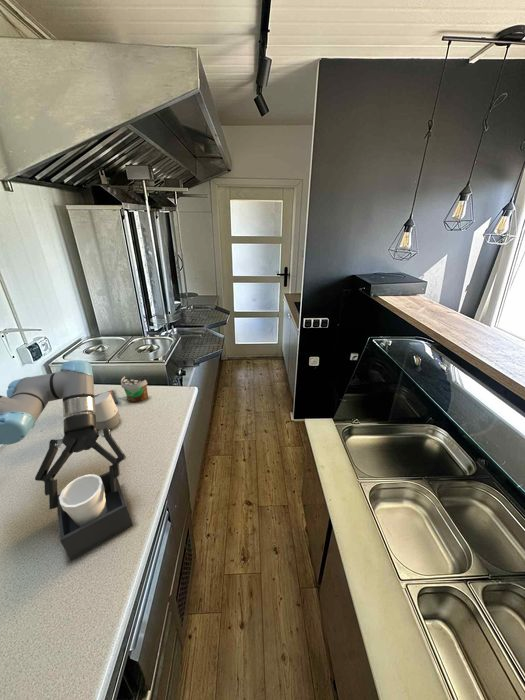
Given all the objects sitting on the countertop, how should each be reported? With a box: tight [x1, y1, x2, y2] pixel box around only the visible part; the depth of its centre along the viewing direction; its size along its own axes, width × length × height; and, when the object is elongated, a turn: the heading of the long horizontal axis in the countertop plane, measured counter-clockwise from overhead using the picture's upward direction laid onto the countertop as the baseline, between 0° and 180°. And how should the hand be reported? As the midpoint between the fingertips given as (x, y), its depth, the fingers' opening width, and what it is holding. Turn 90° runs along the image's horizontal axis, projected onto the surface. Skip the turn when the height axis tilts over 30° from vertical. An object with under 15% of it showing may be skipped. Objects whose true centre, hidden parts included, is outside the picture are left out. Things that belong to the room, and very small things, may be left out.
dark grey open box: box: [56, 471, 134, 561], centre depth 77 cm, size 15×15×8 cm
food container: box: [120, 375, 149, 404], centre depth 127 cm, size 12×6×10 cm, turn 73°
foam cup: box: [59, 473, 108, 528], centre depth 74 cm, size 10×9×13 cm
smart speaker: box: [94, 391, 121, 431], centre depth 111 cm, size 10×9×14 cm
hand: (84, 499), depth 72 cm, fingers open, 13 cm apart
